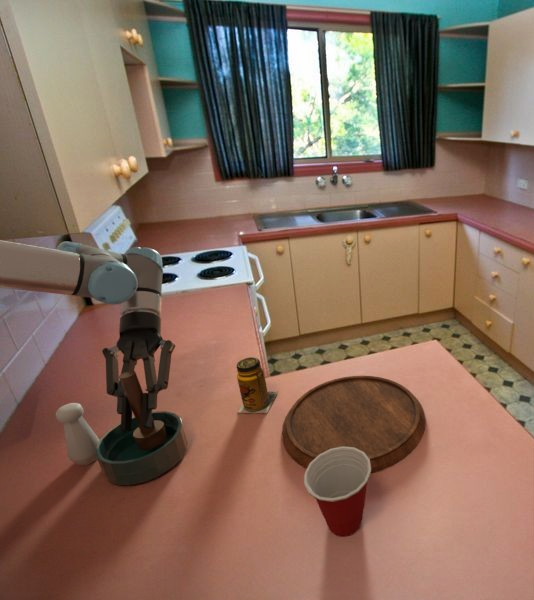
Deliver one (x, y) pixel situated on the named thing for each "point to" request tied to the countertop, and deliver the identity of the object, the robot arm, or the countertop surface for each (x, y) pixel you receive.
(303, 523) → the countertop surface
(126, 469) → the bowl
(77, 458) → the salt shaker
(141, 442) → the wooden masher
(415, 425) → the cutting board
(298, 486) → the countertop surface
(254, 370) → the condiment
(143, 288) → the robot arm
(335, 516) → the plastic cup
